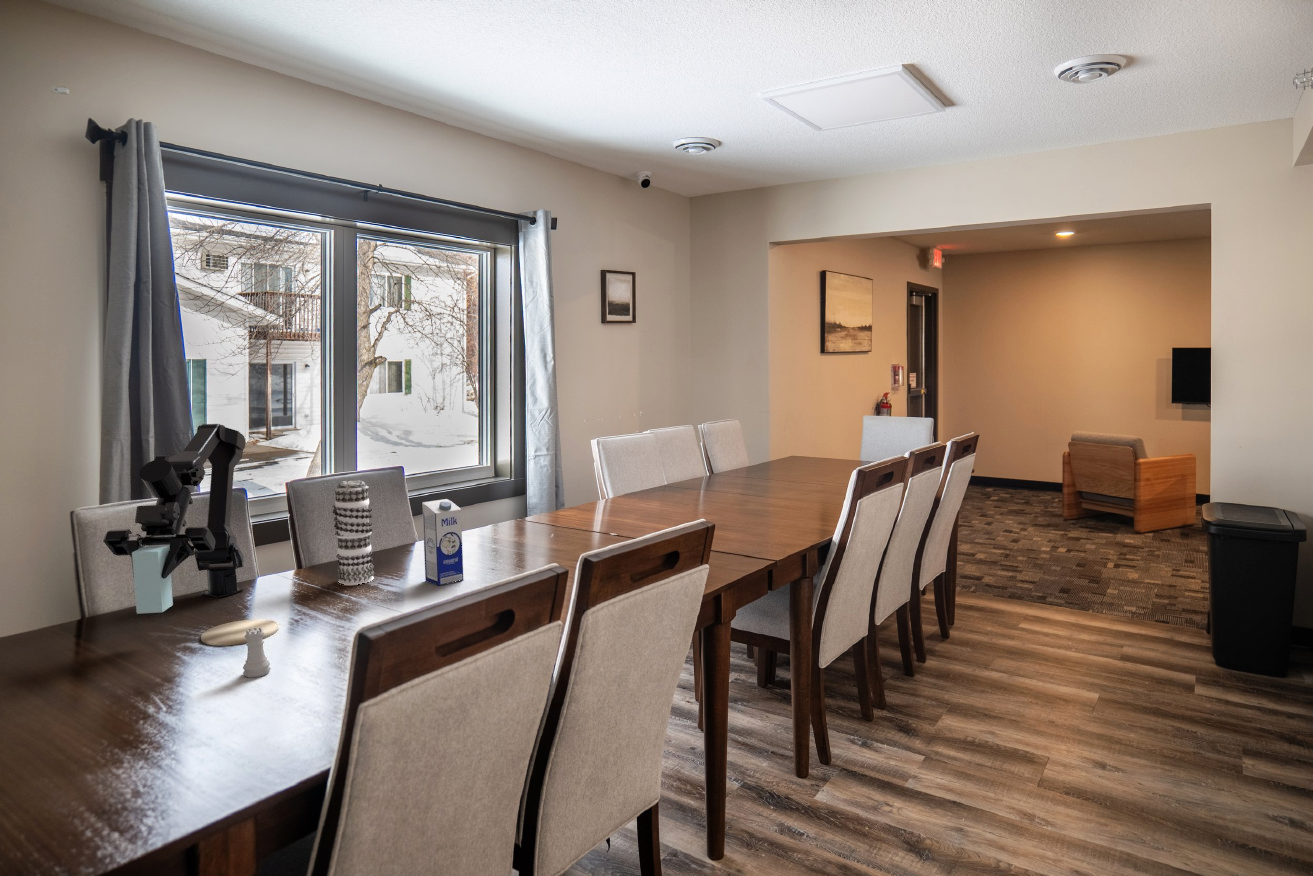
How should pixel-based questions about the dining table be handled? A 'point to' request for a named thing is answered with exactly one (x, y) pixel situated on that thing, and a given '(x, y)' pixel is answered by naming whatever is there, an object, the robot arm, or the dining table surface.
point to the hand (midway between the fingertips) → (149, 578)
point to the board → (237, 632)
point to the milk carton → (442, 542)
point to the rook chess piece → (255, 655)
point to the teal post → (151, 580)
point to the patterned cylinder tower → (353, 533)
